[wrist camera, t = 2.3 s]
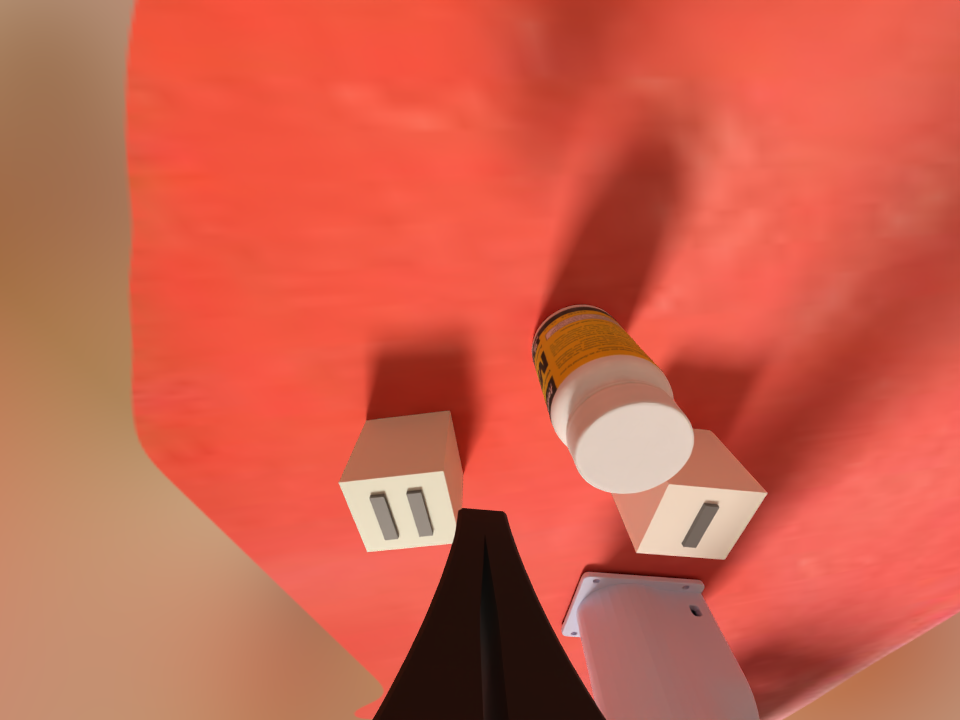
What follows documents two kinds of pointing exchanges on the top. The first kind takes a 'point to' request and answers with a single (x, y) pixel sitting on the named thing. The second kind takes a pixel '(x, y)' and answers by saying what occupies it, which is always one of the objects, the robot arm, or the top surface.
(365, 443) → the numbered block two
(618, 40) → the top surface
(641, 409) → the supplement bottle
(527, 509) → the top surface
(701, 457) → the numbered block one
